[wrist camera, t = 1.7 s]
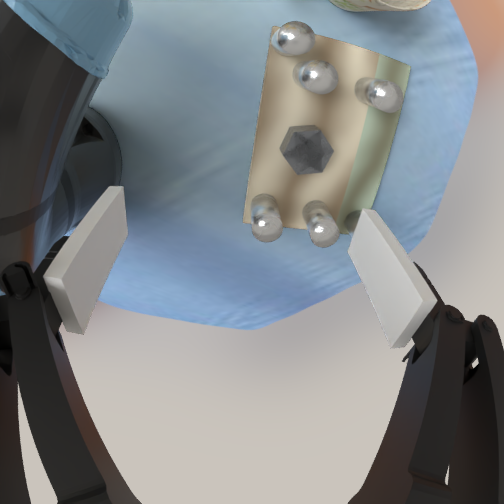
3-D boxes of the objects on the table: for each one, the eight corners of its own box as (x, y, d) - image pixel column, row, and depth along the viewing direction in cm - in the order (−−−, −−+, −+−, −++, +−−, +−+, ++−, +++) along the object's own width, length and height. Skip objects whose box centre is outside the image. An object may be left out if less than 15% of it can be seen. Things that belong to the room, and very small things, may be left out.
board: (242, 217, 35) (243, 223, 34) (272, 27, 22) (273, 25, 21) (358, 230, 37) (361, 236, 36) (405, 65, 24) (410, 66, 23)
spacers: (243, 219, 34) (244, 244, 30) (273, 25, 21) (280, 18, 17) (362, 232, 35) (376, 256, 31) (410, 66, 23) (437, 70, 19)
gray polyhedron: (281, 167, 30) (284, 176, 28) (277, 127, 27) (280, 133, 25) (327, 163, 30) (334, 171, 28) (326, 124, 27) (333, 129, 25)
